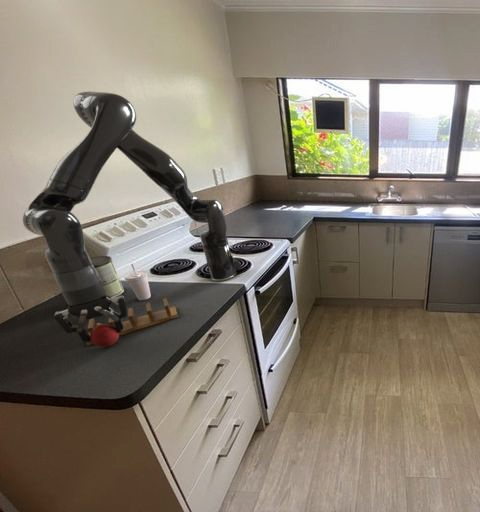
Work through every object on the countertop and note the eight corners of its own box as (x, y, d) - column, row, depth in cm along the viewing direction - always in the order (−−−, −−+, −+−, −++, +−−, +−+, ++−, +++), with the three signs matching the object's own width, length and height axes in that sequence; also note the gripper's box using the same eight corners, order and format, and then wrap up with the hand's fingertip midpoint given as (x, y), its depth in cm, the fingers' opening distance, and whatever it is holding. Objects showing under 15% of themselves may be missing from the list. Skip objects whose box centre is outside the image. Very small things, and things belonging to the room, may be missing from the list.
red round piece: (122, 336, 86) (112, 314, 83) (124, 346, 82) (113, 323, 79) (95, 346, 82) (84, 323, 79) (96, 356, 79) (84, 332, 76)
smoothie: (136, 304, 103) (122, 269, 98) (131, 298, 107) (117, 264, 101) (157, 296, 108) (145, 262, 102) (152, 291, 111) (139, 258, 106)
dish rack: (175, 309, 100) (171, 296, 98) (178, 317, 96) (173, 303, 94) (89, 335, 87) (82, 321, 85) (87, 345, 83) (80, 330, 81)
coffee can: (80, 302, 105) (63, 267, 99) (106, 288, 114) (92, 255, 109) (107, 302, 104) (91, 267, 99) (131, 288, 114) (118, 255, 108)
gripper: (36, 298, 68) (67, 354, 74) (116, 279, 76) (137, 331, 83) (42, 286, 73) (70, 339, 79) (117, 270, 81) (137, 320, 88)
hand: (104, 335), depth 81 cm, fingers closed on red round piece, 6 cm apart
